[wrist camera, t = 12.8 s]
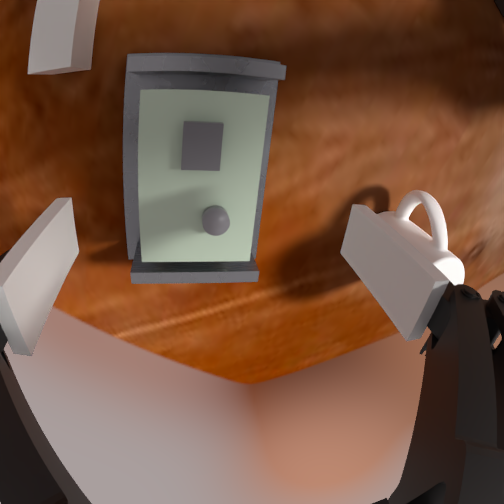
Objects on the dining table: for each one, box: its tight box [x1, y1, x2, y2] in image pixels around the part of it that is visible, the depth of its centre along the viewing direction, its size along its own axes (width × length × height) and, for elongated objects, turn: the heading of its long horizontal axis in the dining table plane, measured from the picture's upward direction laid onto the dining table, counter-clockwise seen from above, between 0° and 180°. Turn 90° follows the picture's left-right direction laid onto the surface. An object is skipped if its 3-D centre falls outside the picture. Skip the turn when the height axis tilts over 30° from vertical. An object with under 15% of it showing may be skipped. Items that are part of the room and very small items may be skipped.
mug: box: [377, 190, 464, 285], centre depth 29 cm, size 8×10×12 cm
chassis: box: [123, 53, 286, 284], centre depth 23 cm, size 18×12×6 cm, turn 174°
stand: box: [28, 0, 100, 75], centre depth 14 cm, size 10×4×5 cm, turn 174°
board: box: [138, 89, 270, 262], centre depth 20 cm, size 12×8×3 cm, turn 174°
